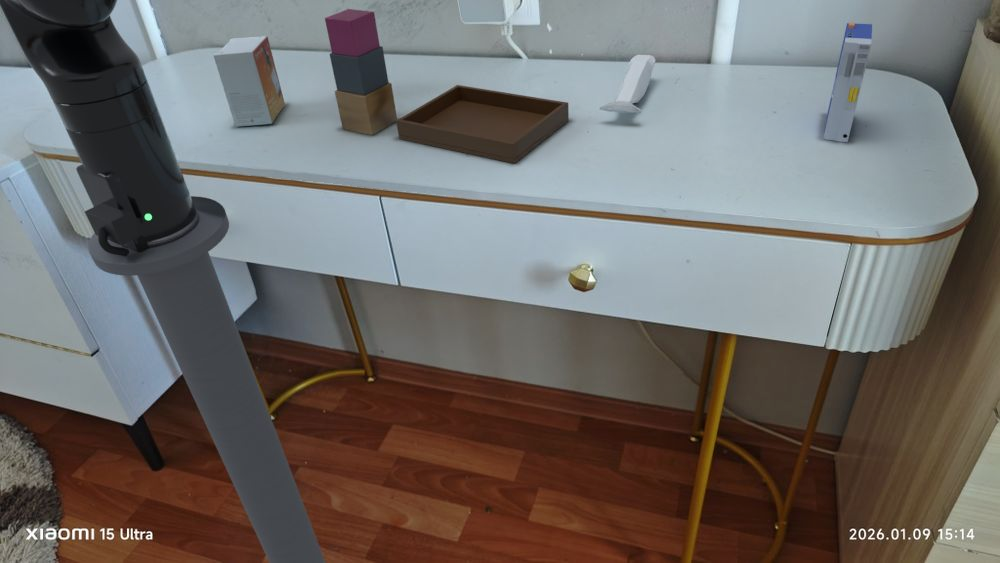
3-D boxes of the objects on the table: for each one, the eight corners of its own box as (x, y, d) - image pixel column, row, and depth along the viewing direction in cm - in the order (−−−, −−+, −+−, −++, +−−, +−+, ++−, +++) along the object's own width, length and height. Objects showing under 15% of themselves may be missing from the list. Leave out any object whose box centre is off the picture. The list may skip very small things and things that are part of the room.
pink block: (357, 57, 88) (350, 21, 86) (331, 53, 90) (324, 18, 88) (380, 46, 91) (374, 11, 89) (354, 43, 93) (348, 8, 91)
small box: (272, 125, 99) (252, 52, 93) (234, 127, 100) (211, 54, 93) (286, 104, 106) (268, 34, 100) (250, 107, 106) (230, 37, 100)
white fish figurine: (661, 79, 104) (663, 53, 101) (639, 127, 90) (641, 98, 88) (625, 77, 105) (626, 51, 103) (598, 124, 92) (598, 95, 89)
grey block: (364, 95, 91) (357, 58, 88) (337, 90, 93) (329, 53, 90) (388, 83, 94) (382, 46, 91) (361, 78, 97) (354, 42, 94)
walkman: (826, 115, 89) (847, 19, 82) (850, 117, 88) (873, 21, 81) (822, 140, 83) (844, 39, 76) (847, 142, 82) (872, 41, 75)
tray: (514, 163, 84) (513, 144, 82) (398, 138, 92) (395, 120, 91) (568, 120, 93) (568, 102, 92) (459, 101, 102) (457, 84, 100)
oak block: (372, 135, 94) (364, 96, 91) (342, 129, 96) (334, 91, 93) (397, 120, 98) (391, 82, 94) (368, 114, 100) (361, 77, 97)
